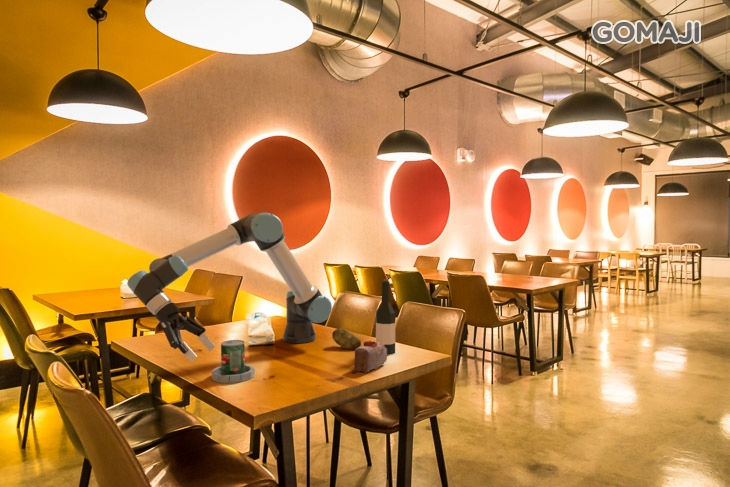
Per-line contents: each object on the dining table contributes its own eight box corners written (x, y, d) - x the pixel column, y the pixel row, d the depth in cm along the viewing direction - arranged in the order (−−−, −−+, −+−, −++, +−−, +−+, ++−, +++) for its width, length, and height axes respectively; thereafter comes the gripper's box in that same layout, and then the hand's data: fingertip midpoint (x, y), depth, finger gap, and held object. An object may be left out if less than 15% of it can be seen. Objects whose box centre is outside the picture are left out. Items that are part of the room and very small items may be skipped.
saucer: (251, 368, 168) (251, 362, 168) (256, 380, 155) (256, 373, 155) (210, 373, 163) (210, 366, 163) (213, 385, 150) (212, 378, 150)
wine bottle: (397, 350, 194) (398, 279, 194) (392, 355, 186) (392, 281, 186) (378, 349, 197) (379, 278, 196) (372, 353, 189) (372, 280, 188)
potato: (348, 352, 192) (348, 333, 191) (329, 346, 201) (329, 328, 201) (363, 348, 197) (363, 330, 197) (343, 343, 207) (343, 325, 206)
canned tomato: (249, 373, 160) (249, 341, 160) (232, 379, 153) (231, 346, 153) (233, 369, 164) (233, 338, 164) (216, 375, 158) (215, 343, 157)
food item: (370, 361, 178) (370, 336, 178) (388, 364, 174) (388, 338, 174) (351, 370, 166) (351, 343, 166) (371, 374, 162) (371, 346, 162)
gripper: (175, 309, 175) (212, 351, 173) (134, 323, 150) (177, 371, 149) (188, 296, 174) (226, 338, 172) (149, 307, 149) (193, 356, 148)
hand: (203, 353), depth 160 cm, fingers open, 13 cm apart
